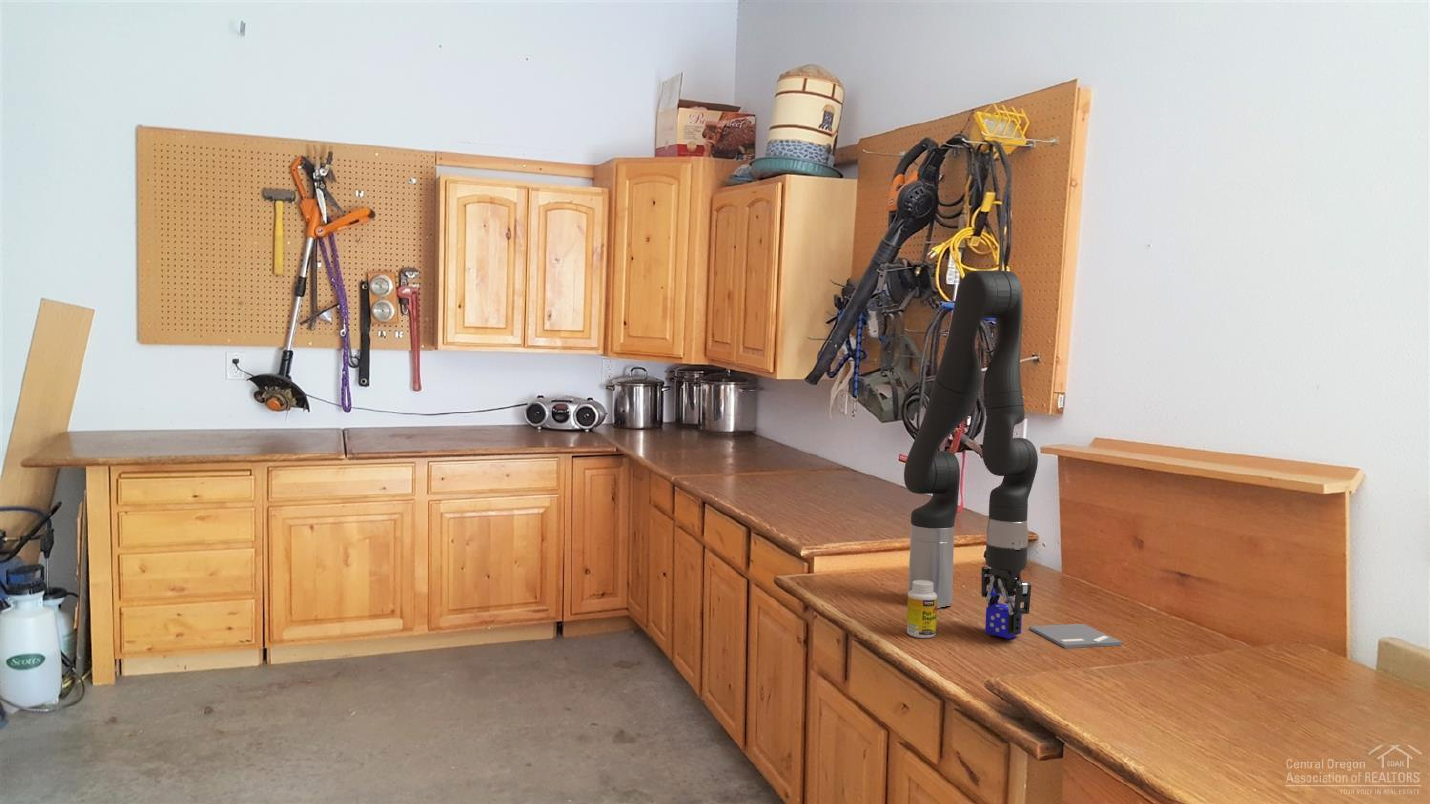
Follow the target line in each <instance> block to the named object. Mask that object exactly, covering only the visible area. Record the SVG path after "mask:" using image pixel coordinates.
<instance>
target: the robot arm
mask: <svg viewBox="0 0 1430 804" xmlns="http://www.w3.org/2000/svg"><path fill="white" fill-rule="evenodd" d="M1023 297H1024V296H1023V287H1022V283H1021V280H1020V279H1019V277H1018V275H1016V274H1015V273H1014V272H1012V271H1010V270H1009V271H1008V270H991V269H989V270H985V269H984V270H983V269H981V270H979V269H978V270H971V271H968V272H967V273H966V274H965V275H964V276H963V277H962V279H961V281H960V283H959V286H958V288H957V291H956V294H955V300H954V305H953V310H952V316H951V320H950V327H949V330H948V334H947V338H946V342H945V345H944V349H943V353H942V357H941V360H940V363H939V366H938V369H937V371H936V374H935V378H934V381H933V384H932V388H931V390H930V395H929V398H928V402H927V404H926V405H927V406H926V408H925V412H924V414H923V415H924V416H923V417H922V421H921V424H920V426H919V428H918V429H919V430H918V431H917V434H916V436H915V438H914V440H913V443H912V445H911V447H910V450H909V452H908V454H907V458H906V461H905V465H904V469H903V470H904V471H903V481H904V485H905V487H906V489H907V490H908V492H911V493H913V494H918V495H932V497H931V498H930V500H929V501H928V502H926V503H925V504H923V505H921V506H919V507H917V508H915V509H912V512H911V514H910V539H909V540H910V543H909V561H908V563H909V565H908V566H909V567H908V592H909V591H911V590H912V583H913V581H915V580H927V581H931V582H933V583H934V589H933V592H935V593H936V594H937V607H943V606H947V605H950V604H951V603H952V604H953V586H954V585H953V582H954V554H955V553H954V551H955V547H954V546H955V521H956V516H957V513H958V505H959V493H960V484H961V483H960V481H961V470H960V463H959V460H958V459H959V458H958V457H957V456H956V455H955V454H954V452H951V451H947V450H939V449H940V447H941V445H942V443H943V442H944V440H945V439H946V438H947V437H948V436H949V435H950V434H952V432H953V431H955V429H957V428H958V427H959V426H960V425H961V424H962V423H963V422H964V421H965V420H966V419H967V418H968V417H969V416H970V415H971V413H972V412H973V410H974V408H975V406H976V403H977V401H978V397H979V395H980V391H981V388H982V385H983V388H982V389H983V398H984V408H985V415H986V419H985V425H984V430H983V431H984V432H983V438H982V444H981V456H982V462H983V464H984V466H985V467H986V469H987V471H988V472H990V474H992V475H994V476H997V477H998V476H999V477H1003V478H1002V482H1001V483H1000V484H999V486H996V487H995V488H993V489H992V490H991V492H990V493H989V501H988V521H987V525H986V526H987V527H986V537H985V538H986V540H985V541H986V542H985V565H986V566H982V567H981V580H980V581H981V583H980V584H981V588H980V589H981V597H983V598H985V601H986V604H987V607H989V606H991V605H994V604H997V603H1000V602H1001V599H1003V603H1004V604H1006V605H1007V607H1008V611H1009V614H1008V633H1009V634H1011V635H1015V634H1018V635H1020V634H1019V633H1020V629H1021V630H1022V627H1020V626H1021V625H1020V624H1021V615H1022V616H1023V615H1029V614H1030V606H1031V592H1032V585H1031V584H1032V583H1031V582H1024V581H1023V580H1022V575H1021V572H1022V571H1024V570H1025V569H1026V568H1027V566H1028V545H1029V531H1028V530H1029V528H1028V510H1029V508H1028V507H1029V503H1028V502H1029V496H1030V493H1031V491H1032V488H1033V484H1034V481H1035V478H1036V474H1037V470H1038V466H1039V465H1038V463H1039V458H1038V452H1037V449H1036V446H1035V445H1034V443H1033V442H1032V441H1031V440H1029V439H1027V438H1025V437H1014V429H1015V426H1016V425H1019V424H1021V423H1022V422H1023V421H1024V419H1025V415H1026V414H1025V406H1024V403H1025V402H1024V395H1023V388H1022V380H1021V379H1022V378H1021V351H1022V350H1021V349H1022V332H1023V331H1022V330H1023V329H1022V328H1023V308H1024V306H1023V305H1024V301H1023V300H1024V299H1023ZM984 319H995V325H996V331H997V335H996V336H997V337H996V343H995V346H994V349H993V353H992V356H991V358H990V361H989V363H988V365H987V367H986V370H985V372H984V373H985V374H984V376H983V371H982V370H983V369H982V366H981V363H980V360H979V356H978V354H977V349H976V339H977V334H978V330H979V327H980V323H981V321H982V320H984ZM1013 603H1014V604H1013ZM1013 606H1014V608H1013Z"/></svg>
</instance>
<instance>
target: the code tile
mask: <svg viewBox="0 0 1430 804" xmlns="http://www.w3.org/2000/svg"><path fill="white" fill-rule="evenodd" d="M1028 629H1029V630H1030V631H1032V632H1034V633H1035V634H1037V635H1039V636H1041V637H1042V638H1045V639H1047V640H1049V641H1051V642H1053V643H1054V644H1056V645H1059V647H1062V648H1064V649H1074V648H1075V649H1078V648H1093V647H1095V648H1096V647H1110V646H1111V647H1112V646H1113V647H1115V646H1123V641H1121V640H1120V639H1117V638H1115V637H1112V636H1111V635H1108V634H1106V633H1104V632H1102V631H1099V630H1098V629H1095V628H1094V627H1091V626H1089V625H1086V624H1084V623H1073V624H1071V623H1070V624H1053V625H1051V624H1050V625H1030V626H1028Z"/></svg>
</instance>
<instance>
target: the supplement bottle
mask: <svg viewBox="0 0 1430 804" xmlns="http://www.w3.org/2000/svg"><path fill="white" fill-rule="evenodd" d="M933 589H934V583H933V582H931V581H927V580H915V581H913V583H912V590H911V591H909V590H908V593H907V607H906V608H907V611H906V632H907V634H908V635H909V636H910V637H914V638H918V639H931V638H933V637H934V638H935V636H936V634H937V620H938V619H937V616H938V615H937V613H938V608H937V594H936V593H935V592H933Z"/></svg>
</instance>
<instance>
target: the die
mask: <svg viewBox="0 0 1430 804" xmlns="http://www.w3.org/2000/svg"><path fill="white" fill-rule="evenodd" d="M1013 608H1014V605H1013ZM1008 614H1009V611H1008V607H1007V604H1006V603H1000V602H998V603H997V604H994V605H991V606H989V607H988V606H987V607H986V608H985V628H984V632H985V633H986V634H989V635H992V636H997V637H1001V638H1004V639H1008V640H1009V639H1010V640H1011V638H1014V637H1016V636H1018V635H1020V634H1021V635H1022V625H1023V624H1022V622H1023V619H1022V618H1023V614H1022V615H1021V624H1020V625H1021V626H1020V627H1021V629H1020V633H1019V634H1015V635H1011V634H1009V633H1008Z"/></svg>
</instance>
